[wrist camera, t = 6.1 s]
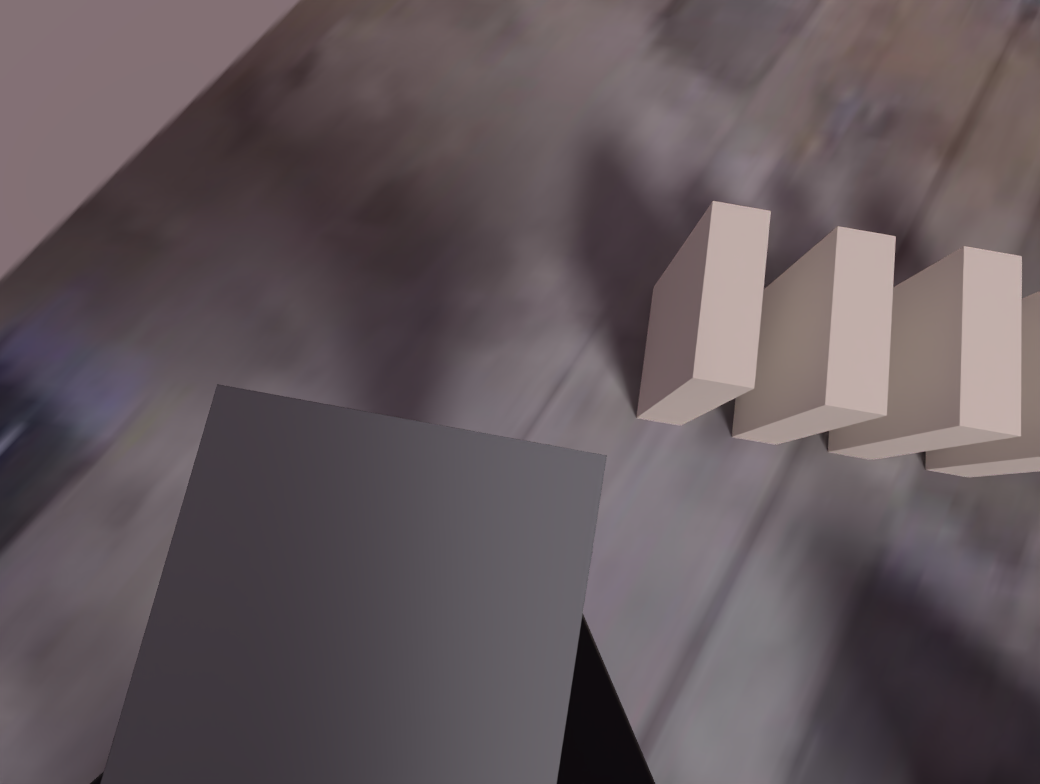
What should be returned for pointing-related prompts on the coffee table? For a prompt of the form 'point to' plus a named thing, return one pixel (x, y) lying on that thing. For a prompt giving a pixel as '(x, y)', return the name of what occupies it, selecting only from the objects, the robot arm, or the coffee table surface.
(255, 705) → the slate domino
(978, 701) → the coffee table surface
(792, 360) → the ivory domino
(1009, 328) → the ivory domino
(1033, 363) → the ivory domino
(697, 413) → the ivory domino
